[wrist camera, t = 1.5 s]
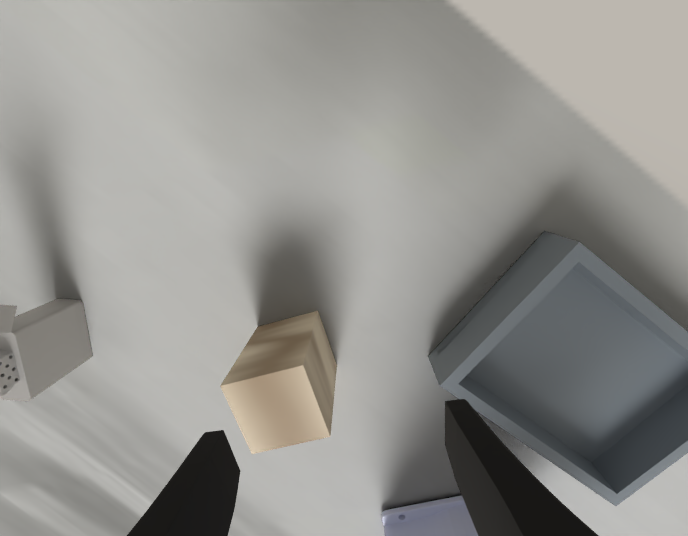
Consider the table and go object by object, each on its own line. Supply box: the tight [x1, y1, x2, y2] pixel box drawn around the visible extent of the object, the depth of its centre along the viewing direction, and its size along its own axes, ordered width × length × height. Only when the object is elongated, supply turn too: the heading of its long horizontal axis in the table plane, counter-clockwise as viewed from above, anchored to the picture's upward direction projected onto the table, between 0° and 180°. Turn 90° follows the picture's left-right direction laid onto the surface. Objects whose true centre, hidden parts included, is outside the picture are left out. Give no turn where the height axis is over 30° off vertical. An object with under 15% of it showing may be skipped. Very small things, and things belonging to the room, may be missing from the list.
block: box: [221, 311, 337, 454], centre depth 18 cm, size 4×4×6 cm
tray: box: [428, 231, 688, 506], centre depth 19 cm, size 10×14×3 cm
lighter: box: [0, 299, 93, 401], centre depth 17 cm, size 7×2×8 cm, turn 177°
